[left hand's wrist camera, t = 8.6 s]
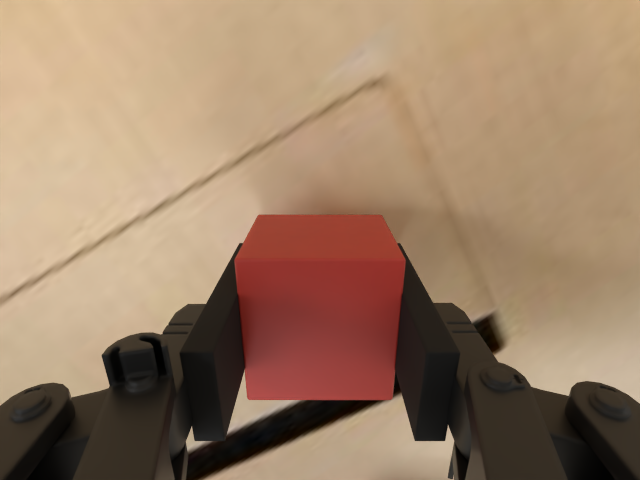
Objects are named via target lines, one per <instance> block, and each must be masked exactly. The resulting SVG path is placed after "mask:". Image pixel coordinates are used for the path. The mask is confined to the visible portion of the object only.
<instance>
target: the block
mask: <svg viewBox="0 0 640 480" xmlns="http://www.w3.org/2000/svg"><path fill="white" fill-rule="evenodd" d="M234 261H235V272H236V282H237V293H238V302H239V312H240V323H241V334H242V344H243V355H244V365H245V378H246V389H247V398H248V399H249V400H391V399H392V398H393V388H394V378H395V364H396V353H397V343H398V332H399V322H400V311H401V300H402V293H403V284H404V273H405V263H406V260H405V258H404V256H403V254H402V252H401V250H400V248H399V246H398V245H397V243H396V241H395V239H394V237H393V235H392V233H391V231H390V230H389V228H388V226H387V224H386V222H385V220H384V218H383V217H382V215H258V216H257V218H256V220H255V222H254V224H253V226H252V228H251V230H250V231H249V233H248V235H247V237H246V239H245V241H244V243H243V245H242V247H241V248H240V250H239V252H238V254H237V256H236V258H235V260H234Z"/></svg>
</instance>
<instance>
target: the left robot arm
mask: <svg viewBox="0 0 640 480" xmlns="http://www.w3.org/2000/svg"><path fill="white" fill-rule="evenodd" d="M242 245H243V243H239V245H238V247H237V249H236V251H235V253H234V254H233V256H232V258H231V260H230V262H229V263H228V265H227V267H226V269H225V271H224V272H223V274H222V276H221V278H220V280H219V282H218V283H217V285H216V287H215V289H214V291H213V292H212V294H211V296H210V298H209V300H208V302H207V303H206V304H187V305H186V306H185V307H183V308H182V309H181V310H179V311H178V312H176V313H175V315H174V316H173V318H172V319H171V321H170V322H169V325H168V326H167V327H166V328H165V330H164V331H163V334H161V335H160V334H156V333H139V334H134V335H130V336H127V337H125V338H123V339H121V340H118V341H117V342H115V343H114V344H112V345H111V346H109V347H108V348H107V349H106V351H105V352H104V353H103V354H102V358H103V362H104V366H105V369H106V373H107V377H108V380H109V384H110V387H109V388H108V389H105V390H102V391H98V392H94V393H90V394H85V395H81V396H76V397H72V398H71V395H70V392H69V389H68V388H67V387H65V386H64V385H63V384H58V383H48V384H40V385H37V386H34V387H31V388H28V389H26V390H24V391H22V392H20V393H18V394H16V395H14V396H12V397H11V398H10V399H8V400H7V401H6V402H5V403H3V404H2V405H1V406H0V480H186V472H187V462H188V453H187V446H186V439H187V437H188V434H189V432H190V429H191V426H192V428H193V434H194V440H195V441H225V438H226V435H227V431H228V427H229V424H230V420H231V416H232V413H233V409H234V406H235V402H236V398H237V395H238V391H239V388H240V384H241V380H242V377H243V373H244V369H245V365H244V355H243V344H242V334H241V323H240V312H239V302H238V293H237V282H236V272H235V261H234V260H235V258H236V256H237V254H238V252H239V250H240V248H241V247H242ZM397 245H398V246H399V248H400V250H401V252H402V254H403V256H404V258H405V260H406V263H405V273H404V284H403V293H402V300H401V311H400V322H399V332H398V343H397V353H396V364H395V371H396V374H397V378H398V381H399V385H400V389H401V392H402V396H403V399H404V403H405V407H406V410H407V414H408V418H409V421H410V425H411V428H412V432H413V436H414V439H415V441H445V438H446V432H447V427H448V425H449V428H450V431H451V433H452V436H453V438H454V446H453V452H452V457H451V462H450V467H449V474H448V478H450V479H453V475H454V480H640V404H639V403H638V402H637V401H635V400H634V399H633V398H631V397H630V396H629V395H627V394H625V393H623V392H621V391H620V390H618V389H616V388H614V387H611V386H608V385H605V384H602V383H597V382H589V381H585V382H579V383H576V384H575V385H574V386H573V387H572V388H571V391H570V394H569V396H566V395H561V394H557V393H553V392H548V391H544V390H540V389H537V388H533V387H531V386H530V384H529V383H528V381H527V380H526V378H525V377H524V376H523V375H522V374H521V373H519V372H518V371H517V370H516V369H514V368H512V367H510V366H508V365H506V364H503V363H499V362H498V361H497V360H496V358H495V357H494V355H493V354H492V352H491V351H490V349H489V348H488V346H487V345H486V343H485V342H484V340H483V339H482V337H481V336H480V334H479V333H477V330H476V328H475V327H474V326H473V324H471V321H470V320H469V318H468V317H467V315H466V314H465V312H464V311H462V310H461V309H460V308H458V307H457V306H455V305H454V304H453V303H433V302H432V300H431V298H430V297H429V295H428V293H427V291H426V289H425V288H424V286H423V284H422V282H421V280H420V279H419V277H418V275H417V273H416V271H415V269H414V268H413V266H412V264H411V262H410V260H409V259H408V257H407V255H406V253H405V251H404V249H403V248H402V246H401V244H400V243H397Z"/></svg>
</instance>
